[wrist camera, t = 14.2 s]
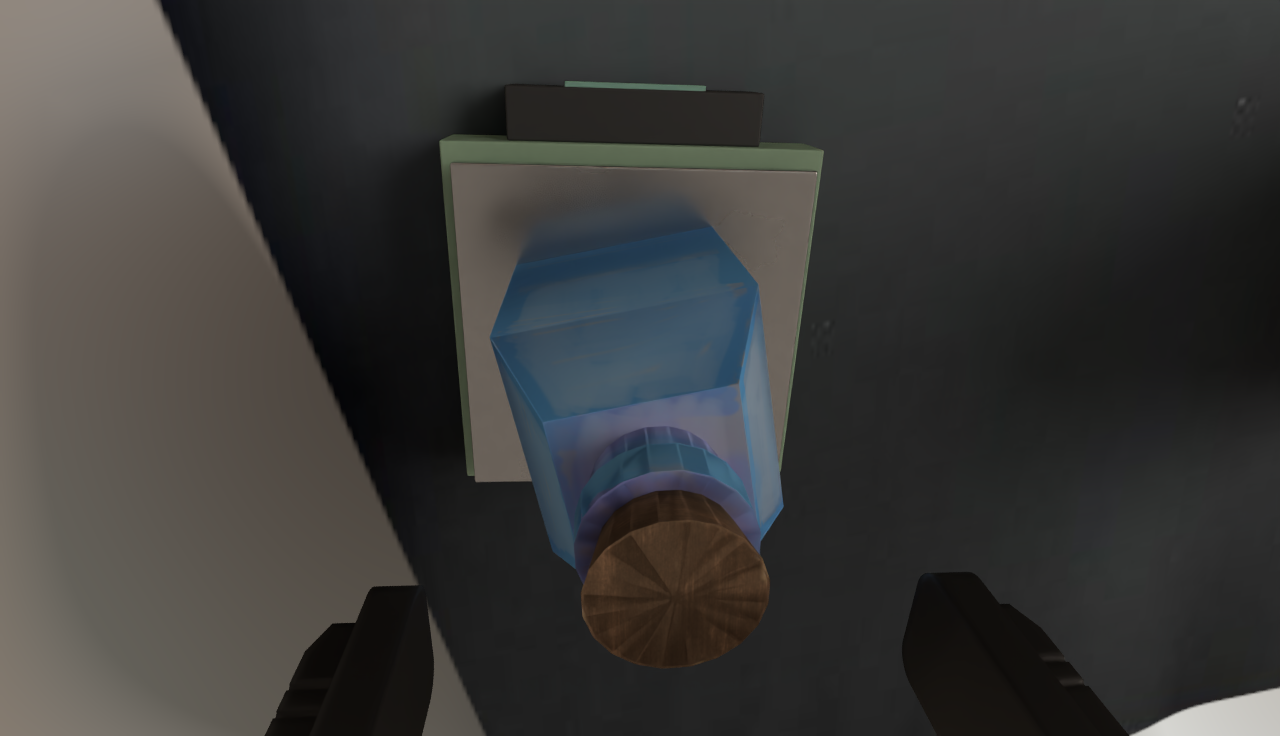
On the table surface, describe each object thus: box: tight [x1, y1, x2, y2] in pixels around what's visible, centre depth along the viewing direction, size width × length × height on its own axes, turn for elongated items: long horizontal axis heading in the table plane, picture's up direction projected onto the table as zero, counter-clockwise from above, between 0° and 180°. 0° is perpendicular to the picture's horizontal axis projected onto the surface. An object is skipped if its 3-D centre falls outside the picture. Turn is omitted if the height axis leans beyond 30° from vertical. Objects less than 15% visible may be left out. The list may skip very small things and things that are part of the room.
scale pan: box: [450, 160, 818, 482], centre depth 23 cm, size 11×11×1 cm
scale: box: [439, 81, 824, 476], centre depth 24 cm, size 12×14×2 cm
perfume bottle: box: [490, 226, 783, 668], centre depth 17 cm, size 6×6×12 cm
